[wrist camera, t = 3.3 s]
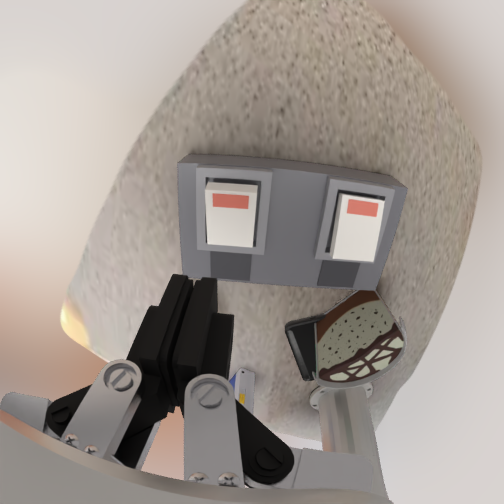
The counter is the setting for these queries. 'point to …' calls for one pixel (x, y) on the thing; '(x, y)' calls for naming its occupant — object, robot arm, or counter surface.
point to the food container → (357, 341)
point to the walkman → (244, 388)
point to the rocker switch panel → (283, 222)
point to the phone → (304, 344)
